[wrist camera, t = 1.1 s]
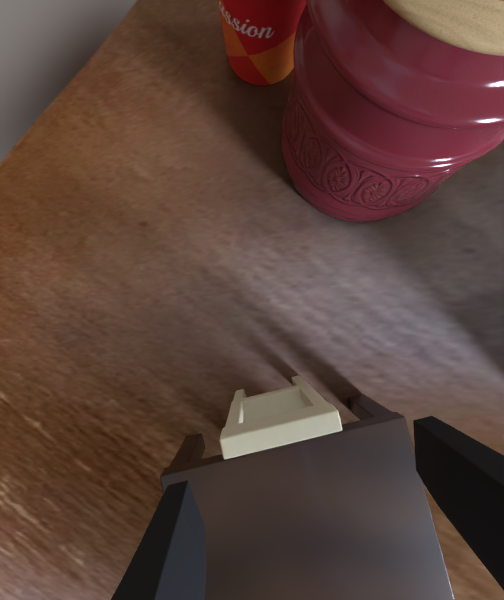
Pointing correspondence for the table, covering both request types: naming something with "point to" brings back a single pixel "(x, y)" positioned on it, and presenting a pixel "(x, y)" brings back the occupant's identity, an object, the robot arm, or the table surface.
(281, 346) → the table surface
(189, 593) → the robot arm
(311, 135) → the kitchen canister
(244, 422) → the chair
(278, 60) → the coffee cup
